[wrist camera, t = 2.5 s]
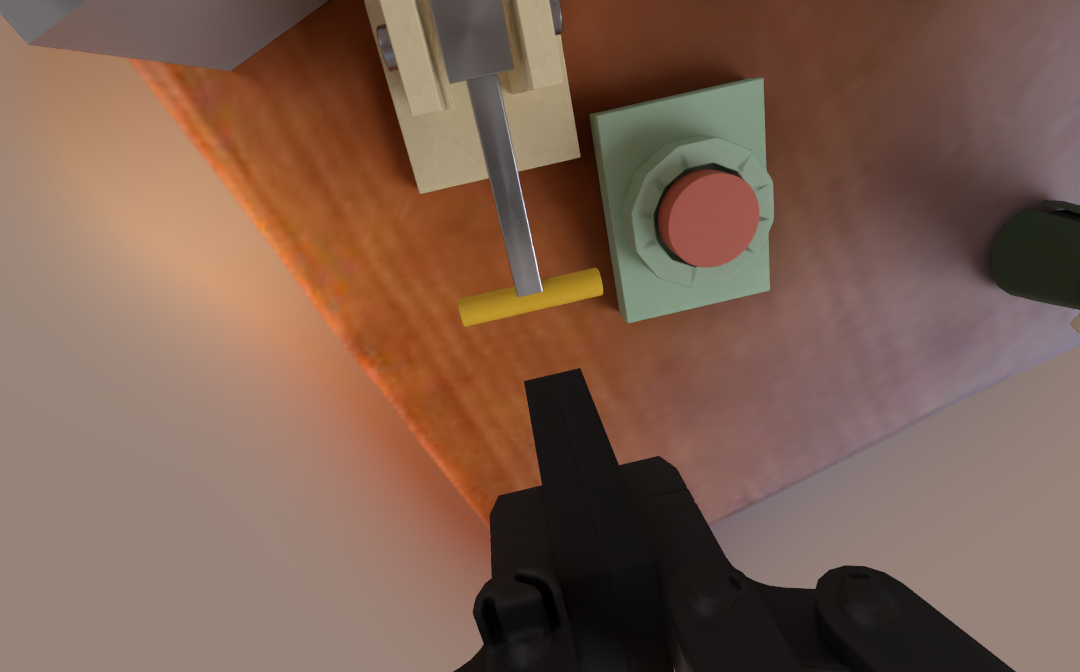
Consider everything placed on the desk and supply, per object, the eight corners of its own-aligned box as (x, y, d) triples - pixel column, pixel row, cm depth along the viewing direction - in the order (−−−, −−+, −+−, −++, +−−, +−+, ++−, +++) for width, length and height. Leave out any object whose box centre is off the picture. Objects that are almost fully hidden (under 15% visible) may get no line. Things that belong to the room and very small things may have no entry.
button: (652, 180, 28) (663, 184, 27) (742, 159, 28) (758, 163, 27) (662, 267, 30) (673, 276, 29) (746, 248, 30) (761, 256, 29)
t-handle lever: (595, 283, 24) (608, 305, 22) (464, 313, 24) (464, 338, 22) (545, -34, 19) (556, -45, 17) (374, 4, 19) (362, -3, 16)
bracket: (577, 155, 31) (639, 187, 19) (421, 190, 31) (387, 244, 19) (533, -104, 26) (580, -273, 14) (348, -63, 26) (242, -201, 14)
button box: (588, 114, 30) (604, 115, 26) (746, 78, 30) (784, 75, 27) (619, 312, 35) (636, 337, 31) (755, 281, 35) (788, 301, 31)
